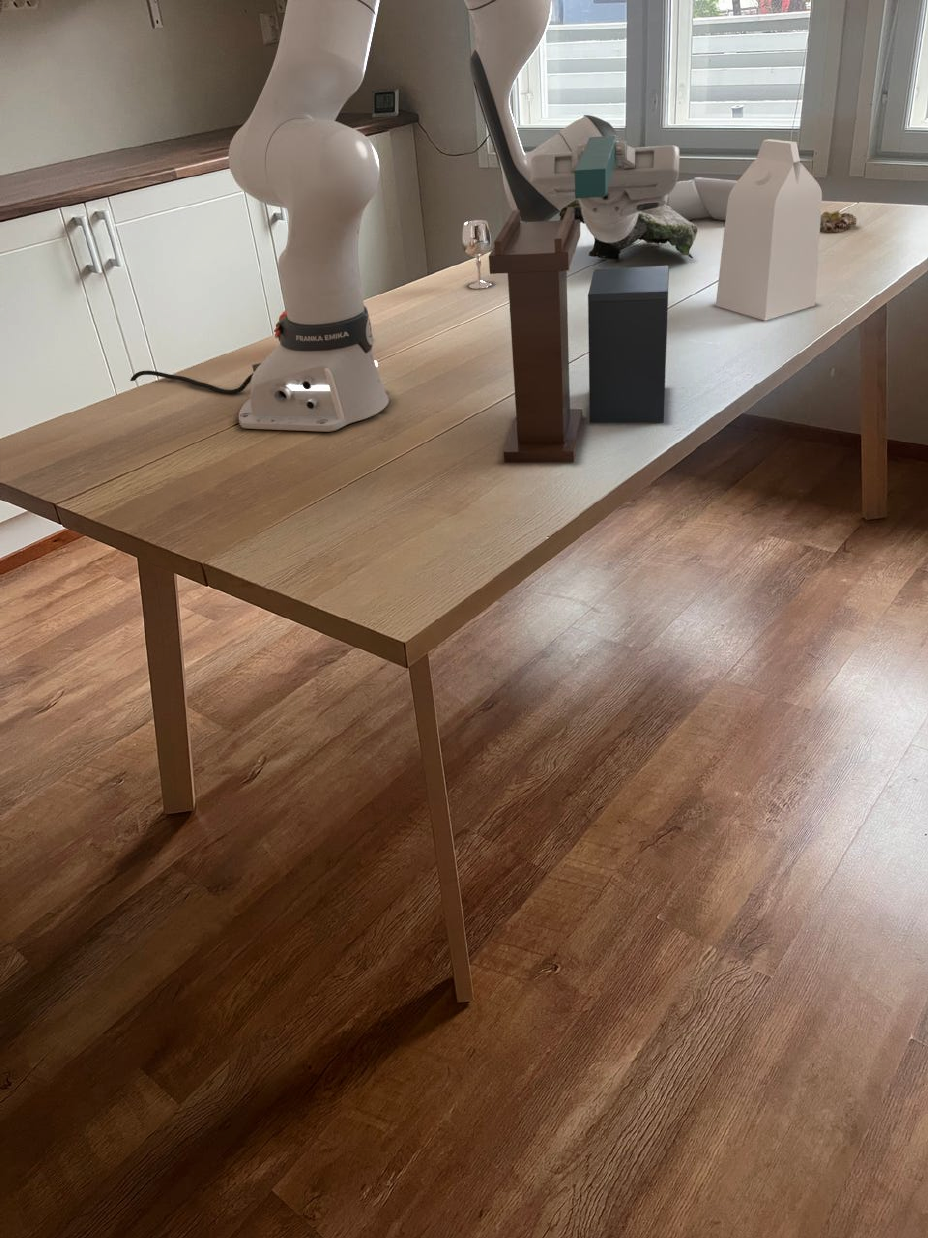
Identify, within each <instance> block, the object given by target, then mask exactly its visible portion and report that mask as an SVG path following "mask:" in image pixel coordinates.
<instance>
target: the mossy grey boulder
mask: <svg viewBox="0 0 928 1238" xmlns="http://www.w3.org/2000/svg"><path fill="white" fill-rule="evenodd" d="M568 207H574V220H579V219H580V224H581V223H582V224H583V225H586V224H585V222H584V219H583V216H582V212H581V207H580V204H579V200H578V199H576V200H575V201H573V202H572V203H570V204H569V205H567V206H566V207H564V208H563V209H561V210H560V212H559V213H558V214H559V215H558V216H559V217H560V218H559V221H560V220H563V218H564V216H565V213H566V211H567V209H568ZM697 233H698V227H697V225H696V224H695V223H693V222H691V221H690V220H686V219H685V218H684V217H682V216H681V215H679V214H678V213H677V212H675V211H674V210H672V209H671V207H669V206H666V205H664V206H661V207H656V208H651V209H647V210H643V211H639V214H638V219H637V222H636V225H635V227H634V228H633V230H632V231H631V232H630V234H629V235H628V236H627V237H625V238H624V239H622V240H620V241H617V242H613V243H606V242H602V241H599V240H598V239H596V238H595V237H594V236H593V238H594V239H593V240H594V243H593V248H592V249H591V250H590V251H589V252H588V256H589V257H594V258H598V259H601V260H602V259H603V260H610V261H618V260H619V258H620V256H619V255H620V253H621V252H622V251H623V250H624V249H626V248H628V247H630V246H632V245H633V244H634V243H636V242H637V241H638V240H640V241H644V242H645V243H647V244H656V245H660V244H665V245H666V244H667V243H669V244H670V245H671V246H672V247H675V249H676V251H678V252H679V253H681V255H683V256H684V255H685V256H688V257H687V258H690V259H694V256H692V254H691V253H690V252H691V251H690V250H691V248H692V247H693V245H694V242H695V241H696V239H697V238H696V237H697V235H698V234H697Z"/></svg>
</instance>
